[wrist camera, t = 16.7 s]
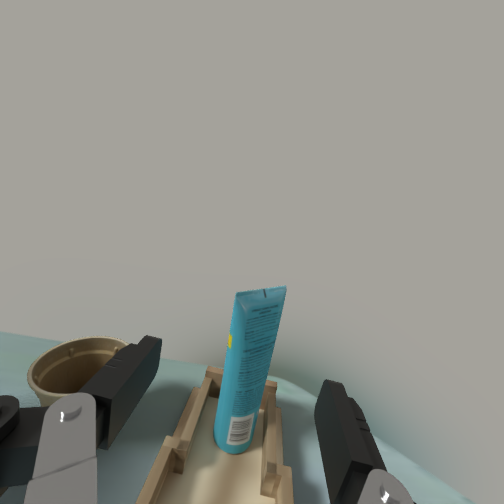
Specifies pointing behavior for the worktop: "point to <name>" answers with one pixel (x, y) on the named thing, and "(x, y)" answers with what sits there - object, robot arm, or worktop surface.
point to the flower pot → (70, 366)
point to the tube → (247, 366)
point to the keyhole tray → (220, 457)
